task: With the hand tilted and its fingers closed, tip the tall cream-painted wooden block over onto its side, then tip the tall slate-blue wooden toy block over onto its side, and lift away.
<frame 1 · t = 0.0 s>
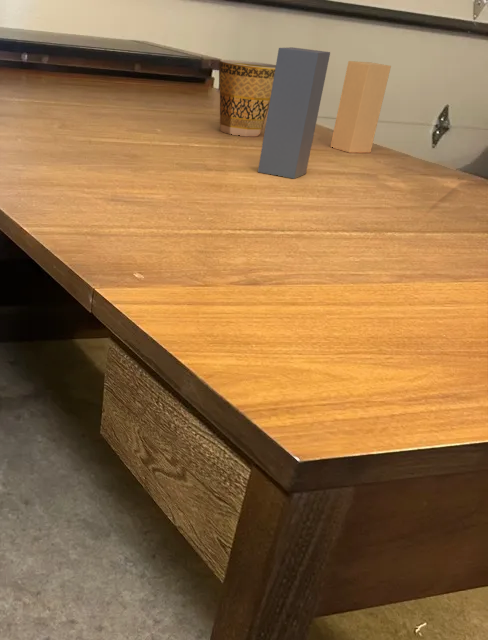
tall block: (350, 149, 130), on the table
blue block: (282, 173, 107), on the table
ceramic cup: (241, 133, 136), on the table
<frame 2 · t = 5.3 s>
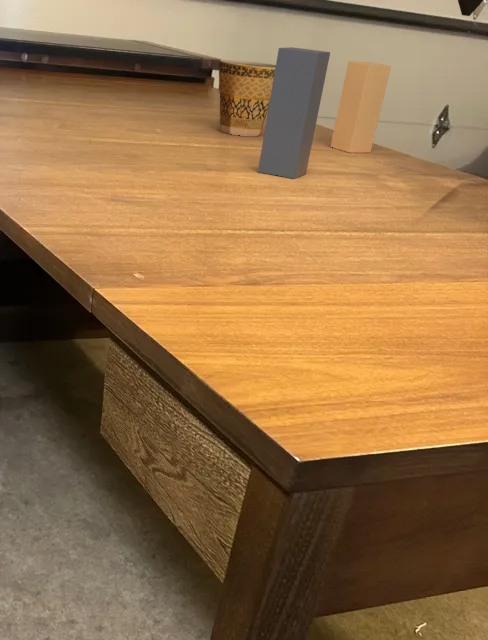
hand: (463, 7, 126), 20 cm above the table, tool tilted 45°, fingers closed
nothing on the table moved.
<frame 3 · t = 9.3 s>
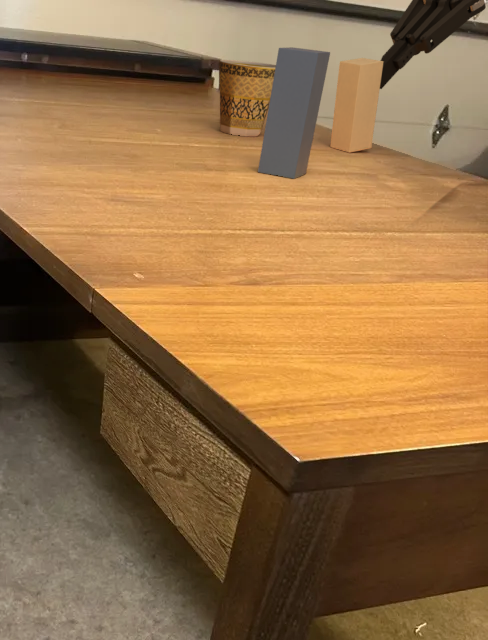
hand: (375, 81, 125), 10 cm above the table, tool tilted 45°, fingers closed
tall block: (350, 147, 129), on the table, tilted 8°
everything else where it was.
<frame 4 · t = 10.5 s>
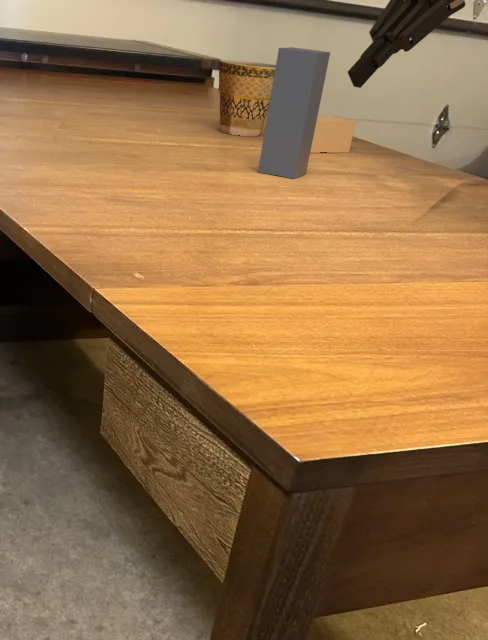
hand: (354, 79, 123), 10 cm above the table, tool tilted 45°, fingers closed
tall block: (342, 134, 127), point 2 cm above the table, tilted 90°
everything else where it was.
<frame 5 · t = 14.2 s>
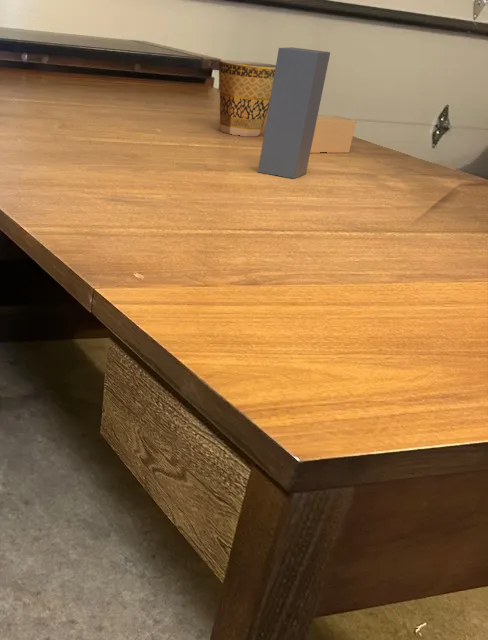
nothing on the table moved.
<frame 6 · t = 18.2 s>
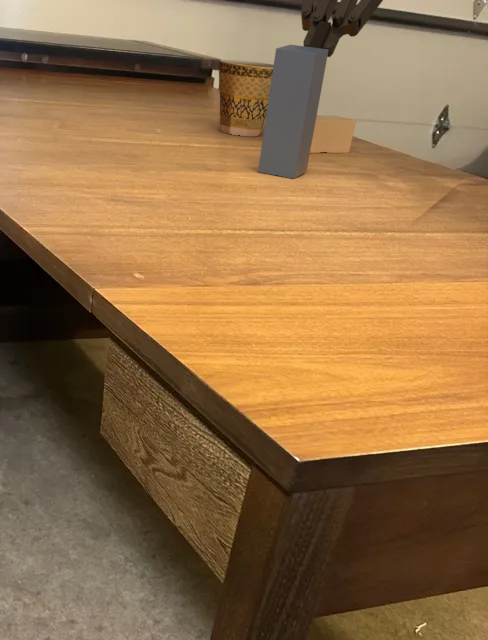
hand: (306, 72, 103), 11 cm above the table, tool tilted 45°, fingers closed
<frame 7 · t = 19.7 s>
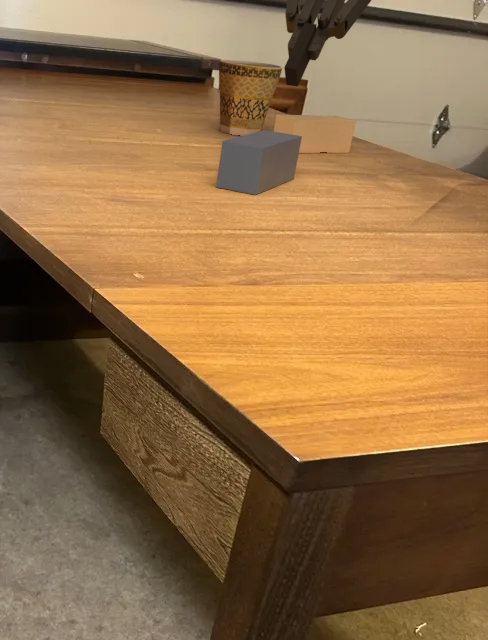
hand: (291, 76, 99), 11 cm above the table, tool tilted 45°, fingers closed
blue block: (279, 154, 104), point 3 cm above the table, tilted 90°
everything else where it was.
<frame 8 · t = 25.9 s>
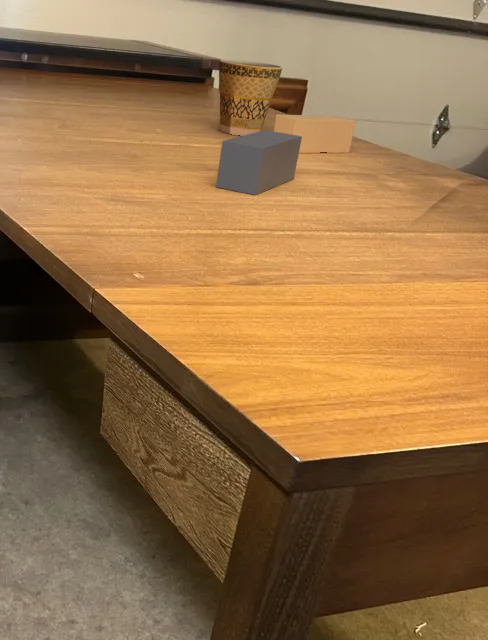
nothing on the table moved.
at the end: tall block tilted 90°; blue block tilted 90° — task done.
